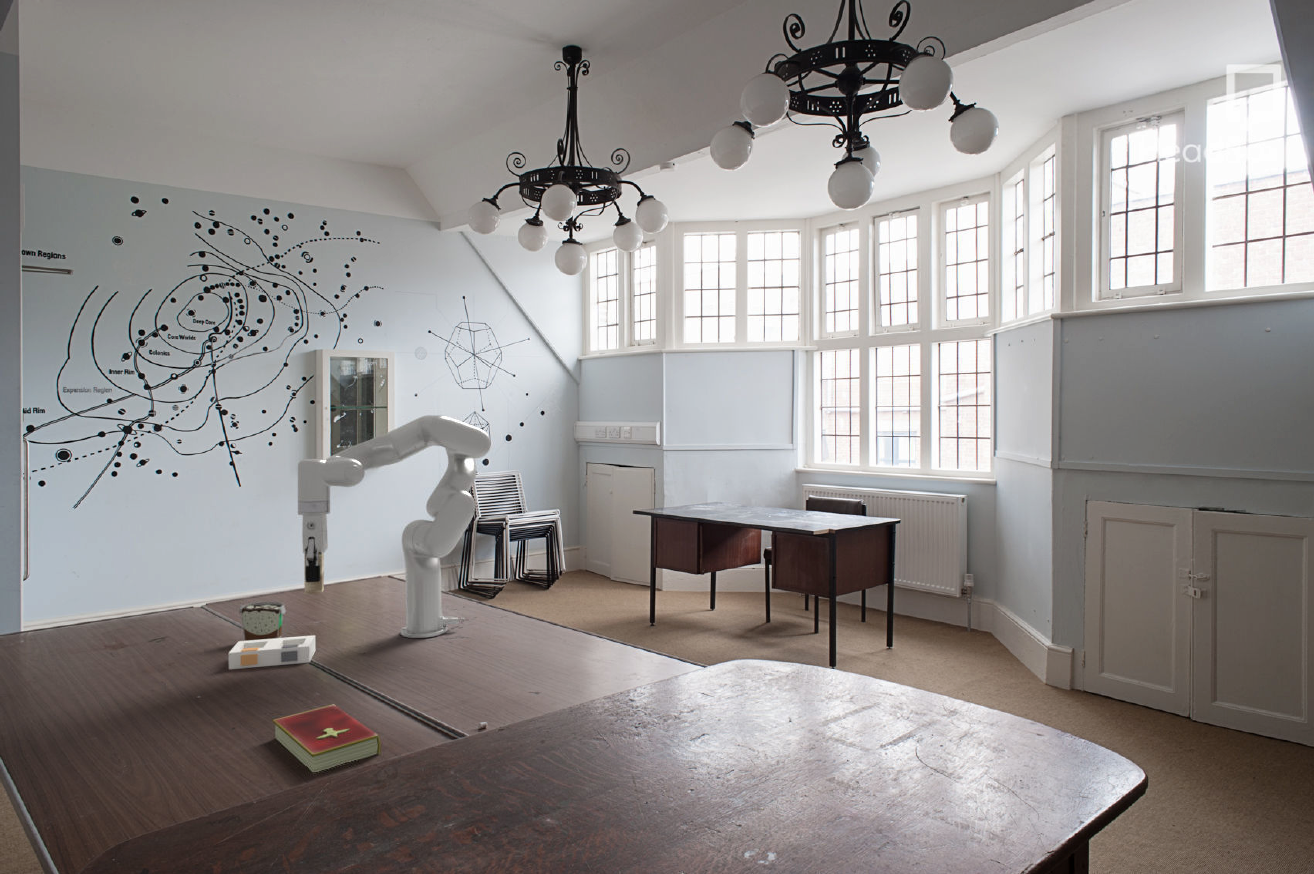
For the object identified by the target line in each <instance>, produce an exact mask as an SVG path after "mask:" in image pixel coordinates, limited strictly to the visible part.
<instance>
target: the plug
mask: <svg viewBox="0 0 1314 874" xmlns="http://www.w3.org/2000/svg"><path fill="white" fill-rule="evenodd" d="M314 553H317V552H314ZM324 554H325V552H324V553H323V554H321V552H319V566H320V581H319V582H306V554H304V595H316V594H319V595H320V594H323V592H324V590H325V589H324V587H325V580H324V579H325V576H324V575H325V565H324V564H325V563H324V562H325V561H324V560H325V555H324ZM314 557H316V556H314Z"/></svg>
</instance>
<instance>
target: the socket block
mask: <svg viewBox="0 0 1314 874" xmlns="http://www.w3.org/2000/svg"><path fill="white" fill-rule="evenodd" d="M315 652H316V635H302V636H291V637H290V636H289V637H288V636H287V637H281V638H274V639H262V640H249V641H244V640H238V641H237V643H236V644H235V645H234V646H232V648H231V650H230V651H229V652H228V654H227V655H228V670H239V669H248V668H250V669H251V668H260V667H261V668H262V667H271V666H281V665H282V666H283V665H294V664H305V663H306V664H307V663H311V660H312V658H313V656H314V654H315Z"/></svg>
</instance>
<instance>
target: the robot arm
mask: <svg viewBox="0 0 1314 874" xmlns="http://www.w3.org/2000/svg"><path fill="white" fill-rule="evenodd" d="M491 444H492V442H491V438H490V436H489V434H488V433H487V432H486V431H485V430H483V429H481V428H479V427H476V426H474V425H471V424H468V423H467V422H466V423H465V422H463V421H460V420H458V419H455V418H451V417H449V416H446V415H441V414H439V415H438V414H437V415H436V414H435V415H433V414H432V415H431V414H430V415H429V414H428V415H423V416H420V417H418V418H415V419H413V420H411V421H410V422H407V423H405V424H403V425H401V426H399V427H397V428H395V429H393V430H391V431H389V432H386V433H384V434H382V435H379V436H376V437H373V438H371V439H369V440H366V441H364V442H363V441H362V442H360V443H358V444H355V445H352V446H351V447H347V448H346V449H343V450H342V451H339V452H337V453H335V454H333V455H330V456H329V457H327V458H326V459H324V458H306V459H302V460H299V462H298V463H297V515H299V516H302V524H301V525H302V529H301V530H302V533H301V535H302V536H301V537H302V538H301V539H302V553H303V555H305V554H306V582H319V581H320V566H319V552H321V554H323V553H324V554H325V552H326V551H327V550H328V548H329V547H328V546H329V544H328V543H329V542H328V520H327V519H328V518H327V515H329V514H330V513H331V487H342V488H350V487H351V488H352V487H355V486H357V485H359V484H360V483H361V482H362V481H363V479H364V478H365V474H366V473H365V472H366V471H368V470H370V469H374V468H377V467H383V466H391V465H394V464H398V463H400V462H402V461H404V460H406V459H409V458H410V457H412V456H414V455H416V454H418V453H420V452H422V451H424V450H426V449H427V448H430V447H432V446H433V447H434V446H436V447H442V448H445V451H446V455H447V468H446V470H445V472H444V475H443V476H442V477H441V479H440V480H439V482H438V484H436V487H435V488H434V489H433V492H432V493H431V494H430V496H429V497H428V499H427V501H426V506H425V509H426V512H427V514H428V515H429V516H430V517H431V518H432V519H433V520H428V519H416V520H413V521H410V522H409V523H408V524H407V525H406V526H405V527H404V529H403V531H402V535H401V545H402V552H403V556H404V557H403V558H404V567H405V568H404V571H405V572H404V574H405V617H406V618H405V619H406V620H405V621H406V622H405V623H406V626H404V627H402V628H400V635H401V636H402V637H405V638H408V639H409V638H411V639H425V638H431V637H432V638H433V637H436V636H437V637H438V636H441V635H443V634H445V633H447V632H448V625H459V617H458V616H453V615H452V616H445V615H444V614H443V612H442V569H441V568H442V567H441V560H440V559H441V558H444V557H446V556H448V555H449V554H450V553H451V552H452V551H453V550H454V548H455V547H456V546H457V544H458V542H459V541H460V540H461V538H462V536H463V534H464V533H465V532H466V529H467V528H468V526H469V525H470V523H471V521H472V519H473V517H474V514H475V511H476V502H475V499H474V497H473V495H472V494H471V493H470V490H471V489H472V486H473V484H474V482H475V480H476V477H477V464H476V459H479V458H483V457H485V456H486V455H487V454H488V453H489V452H490V449H491V447H492V445H491ZM314 552H317V553H314ZM314 556H316V557H314Z"/></svg>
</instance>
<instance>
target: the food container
mask: <svg viewBox="0 0 1314 874" xmlns="http://www.w3.org/2000/svg"><path fill="white" fill-rule="evenodd" d="M285 607H286V606H285V605H284V603H283V602H281V601H280V602H279V601H258V602H252V603H247V604H243V605H240V607H239V610H238V615H239V614H240V616H241V624H242V625H241V626H242V633H243V641H249V640H262V639H274V638H282V632H283V631H282V628H283V618H284V614H285V613H286V612H287V610H286V608H285Z"/></svg>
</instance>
